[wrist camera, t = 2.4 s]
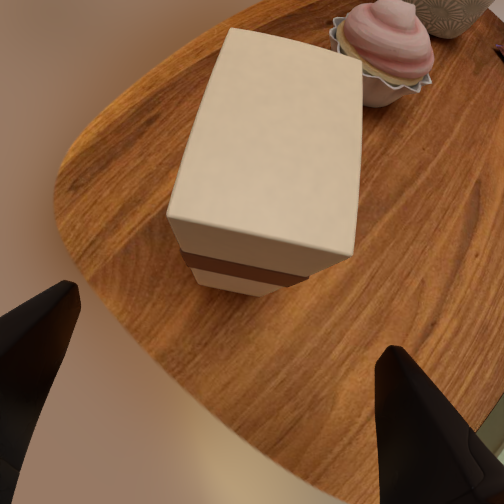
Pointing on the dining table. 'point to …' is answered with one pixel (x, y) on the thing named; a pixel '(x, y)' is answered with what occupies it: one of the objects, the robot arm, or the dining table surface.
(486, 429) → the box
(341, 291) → the dining table surface
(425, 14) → the planter
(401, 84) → the cupcake
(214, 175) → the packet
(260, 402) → the dining table surface
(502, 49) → the snack package
